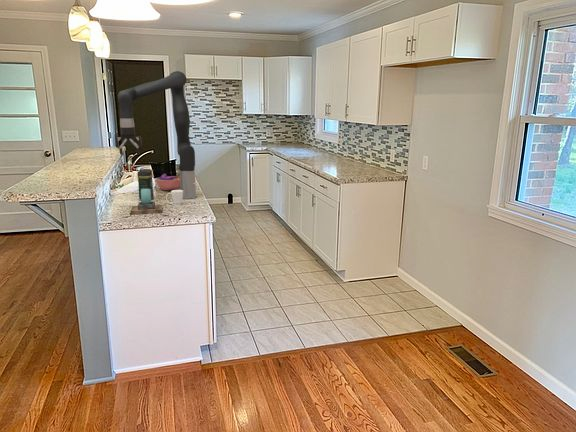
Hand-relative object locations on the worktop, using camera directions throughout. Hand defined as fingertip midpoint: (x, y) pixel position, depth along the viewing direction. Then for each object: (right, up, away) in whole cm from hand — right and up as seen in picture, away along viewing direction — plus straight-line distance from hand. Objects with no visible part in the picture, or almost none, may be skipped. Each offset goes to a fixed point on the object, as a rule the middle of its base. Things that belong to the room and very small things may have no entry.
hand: (129, 154), depth 254 cm
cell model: (+13, -18, +42) cm, 48 cm away
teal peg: (+15, -31, -15) cm, 37 cm away
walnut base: (+15, -33, -14) cm, 39 cm away
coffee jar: (+5, -25, +15) cm, 30 cm away
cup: (+26, -29, +2) cm, 39 cm away
